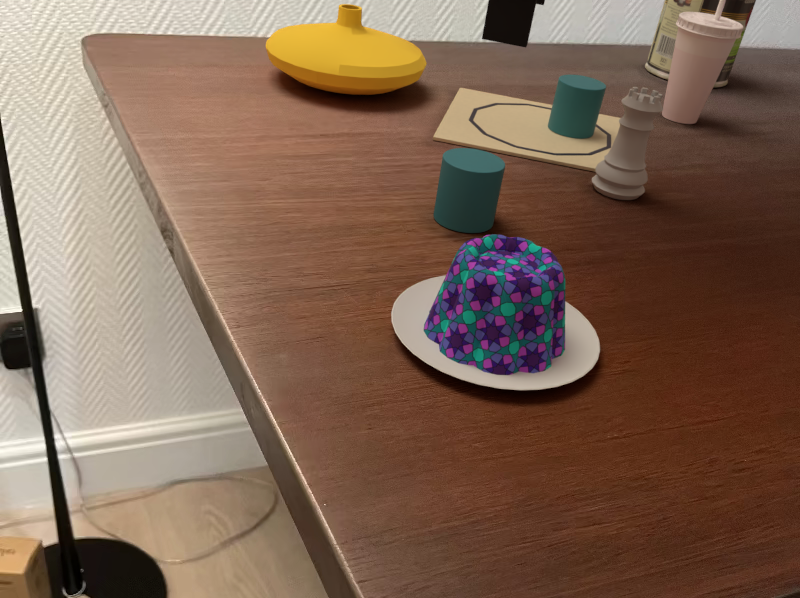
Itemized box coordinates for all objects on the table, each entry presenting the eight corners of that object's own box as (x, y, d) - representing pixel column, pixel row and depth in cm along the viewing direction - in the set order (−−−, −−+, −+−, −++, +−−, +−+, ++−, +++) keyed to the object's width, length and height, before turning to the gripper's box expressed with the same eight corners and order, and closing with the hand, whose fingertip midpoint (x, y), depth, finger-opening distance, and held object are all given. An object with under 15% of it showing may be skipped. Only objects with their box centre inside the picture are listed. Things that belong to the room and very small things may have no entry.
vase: (233, 67, 80) (232, -10, 76) (354, 54, 90) (360, -16, 85) (331, 119, 72) (337, 35, 68) (454, 98, 81) (466, 23, 77)
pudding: (455, 265, 53) (469, 189, 50) (626, 335, 49) (653, 257, 45) (347, 339, 45) (356, 254, 41) (542, 432, 40) (568, 345, 37)
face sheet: (632, 123, 82) (633, 119, 82) (636, 180, 69) (637, 176, 69) (459, 90, 84) (460, 86, 84) (432, 140, 71) (433, 136, 71)
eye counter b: (593, 127, 78) (606, 79, 76) (592, 142, 75) (606, 92, 72) (549, 118, 79) (560, 71, 76) (546, 133, 75) (557, 83, 73)
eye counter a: (496, 213, 60) (508, 155, 58) (489, 238, 57) (502, 177, 54) (438, 201, 61) (448, 143, 58) (428, 225, 57) (437, 164, 55)
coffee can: (735, 78, 102) (780, -47, 94) (715, 94, 95) (763, -40, 86) (657, 57, 106) (694, -65, 97) (632, 71, 99) (670, -60, 90)
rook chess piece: (594, 174, 69) (621, 78, 64) (646, 188, 68) (678, 91, 63) (585, 192, 66) (613, 92, 61) (639, 206, 65) (672, 106, 60)
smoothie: (682, 131, 82) (733, -21, 74) (636, 109, 86) (679, -37, 78) (722, 125, 85) (775, -21, 77) (675, 105, 89) (721, -37, 81)
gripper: (550, -389, 51) (485, -21, 64) (506, -517, 32) (425, 51, 44) (668, -373, 51) (579, -4, 63) (699, -493, 31) (560, 78, 44)
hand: (516, 20), depth 54 cm, fingers open, 13 cm apart
